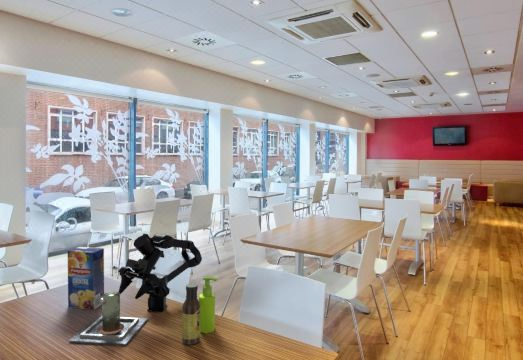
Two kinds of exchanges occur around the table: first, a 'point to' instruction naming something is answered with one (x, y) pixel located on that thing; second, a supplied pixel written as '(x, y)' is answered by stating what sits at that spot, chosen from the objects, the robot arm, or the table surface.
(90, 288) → the juice carton
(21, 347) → the table surface
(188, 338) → the sauce bottle
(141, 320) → the port plate
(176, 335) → the table surface
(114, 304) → the spout can
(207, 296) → the soap dispenser
